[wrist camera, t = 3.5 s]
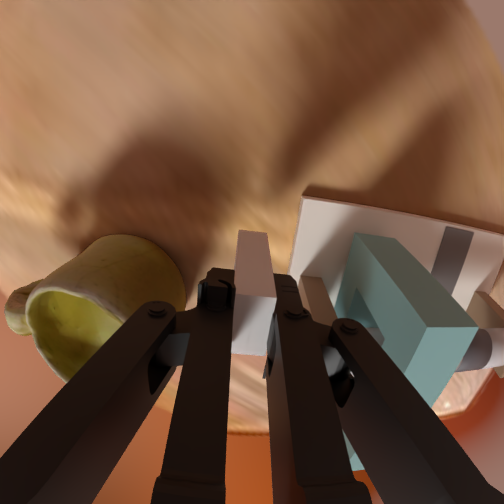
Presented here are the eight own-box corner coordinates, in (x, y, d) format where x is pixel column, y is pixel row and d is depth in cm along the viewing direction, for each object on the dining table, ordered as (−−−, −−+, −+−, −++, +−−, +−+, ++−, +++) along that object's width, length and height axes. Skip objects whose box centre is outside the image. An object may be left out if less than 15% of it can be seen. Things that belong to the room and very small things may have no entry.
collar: (316, 363, 24) (340, 471, 15) (354, 232, 20) (427, 327, 11) (351, 363, 24) (384, 466, 15) (394, 238, 20) (479, 326, 11)
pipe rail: (268, 361, 26) (274, 442, 18) (301, 195, 20) (332, 245, 13) (449, 361, 27) (484, 418, 20) (505, 234, 21) (566, 278, 14)
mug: (224, 241, 19) (143, 380, 12) (196, 331, 26) (143, 434, 18) (69, 174, 20) (-35, 258, 12) (78, 270, 26) (11, 349, 19)
